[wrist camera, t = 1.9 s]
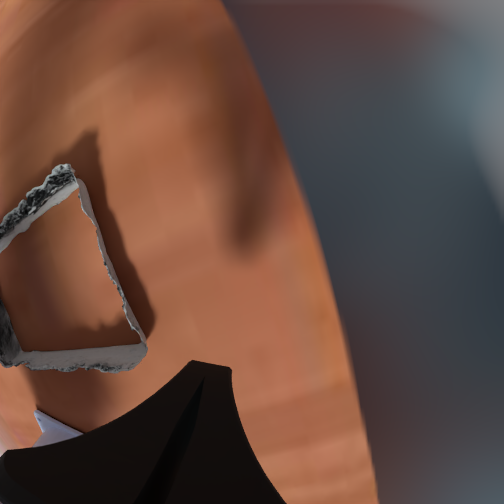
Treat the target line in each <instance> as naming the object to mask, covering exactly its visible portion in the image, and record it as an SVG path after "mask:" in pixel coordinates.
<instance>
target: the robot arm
mask: <svg viewBox="0 0 504 504" xmlns="http://www.w3.org/2000/svg"><path fill="white" fill-rule="evenodd" d="M34 415H35V417H36V419H37V421H38V424H39V426H40V428H41V430H42V432H43V434H42V435H41V436H40V437H39V439H38V440H37V441H36V442H35V444H34V445H33V446H32V447H31V448H23V449H14V450H7V451H6V452H5V453H4V454H3V455H2V456H1V457H0V504H286V502H285V501H284V500H283V499H282V497H281V496H280V494H279V493H278V492H277V490H276V489H275V487H274V486H273V484H272V483H271V482H270V480H269V479H268V477H267V476H266V474H265V472H264V471H263V469H262V467H261V465H260V464H259V462H258V460H257V458H256V456H255V454H254V452H253V450H252V448H251V446H250V444H249V442H248V439H247V437H246V434H245V432H244V429H243V426H242V424H241V421H240V418H239V414H238V411H237V407H236V403H235V399H234V394H233V388H232V370H231V369H230V367H226V366H221V365H215V364H210V363H205V362H200V361H195V360H192V361H190V362H189V363H188V364H187V365H186V366H185V367H184V368H183V369H182V370H181V371H180V372H179V373H178V374H177V375H176V376H174V377H173V378H172V379H171V380H170V381H169V382H168V383H167V384H165V385H164V386H163V387H162V388H161V389H159V390H158V391H157V392H156V393H155V394H153V395H152V396H151V397H149V398H148V399H146V400H145V401H144V402H142V403H141V404H139V405H138V406H137V407H135V408H134V409H132V410H131V411H129V412H127V413H126V414H124V415H122V416H121V417H119V418H117V419H115V420H113V421H111V422H109V423H108V424H105V425H103V426H101V427H99V428H97V429H94V430H92V431H90V432H87V433H85V434H83V433H81V432H79V431H77V430H75V429H72V428H70V427H68V426H66V425H64V424H62V423H61V422H59V421H57V420H55V419H53V418H51V417H49V416H47V415H46V414H44V413H42V412H40V411H39V410H35V411H34Z"/></svg>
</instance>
